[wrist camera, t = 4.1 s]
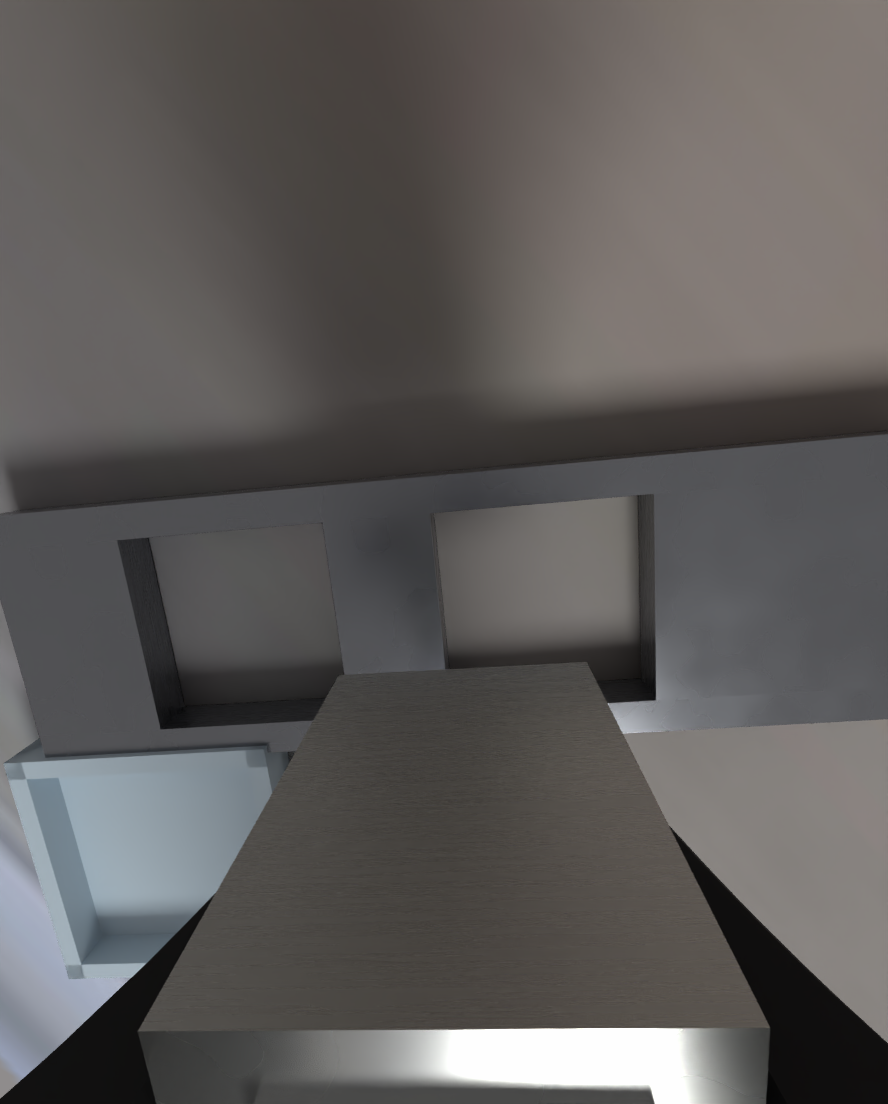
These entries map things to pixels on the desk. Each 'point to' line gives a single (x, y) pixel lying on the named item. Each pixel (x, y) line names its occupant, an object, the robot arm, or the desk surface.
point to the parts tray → (135, 842)
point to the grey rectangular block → (459, 918)
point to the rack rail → (417, 606)
